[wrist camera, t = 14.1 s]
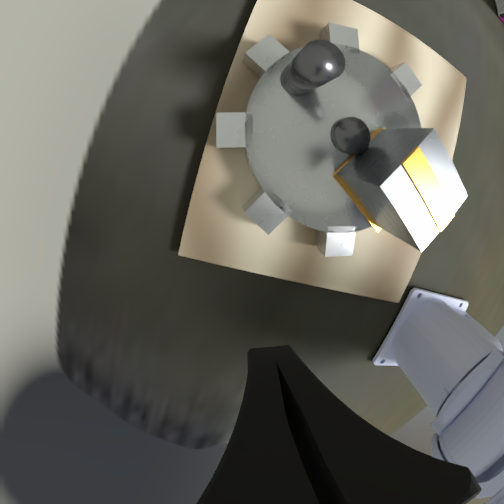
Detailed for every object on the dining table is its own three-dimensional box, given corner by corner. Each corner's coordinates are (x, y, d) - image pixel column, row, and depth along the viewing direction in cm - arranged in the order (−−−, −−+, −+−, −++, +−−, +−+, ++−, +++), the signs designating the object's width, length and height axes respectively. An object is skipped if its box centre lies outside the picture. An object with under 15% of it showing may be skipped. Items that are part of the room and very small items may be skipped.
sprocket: (330, -1, 12) (368, -40, 7) (449, 155, 16) (504, 165, 11) (164, 134, 14) (137, 127, 9) (325, 287, 19) (359, 336, 13)
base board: (461, 78, 15) (466, 78, 14) (394, 299, 21) (398, 303, 20) (269, -26, 11) (270, -31, 11) (179, 251, 17) (177, 255, 17)
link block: (382, 129, 14) (435, 128, 9) (416, 181, 15) (469, 196, 11) (336, 174, 14) (381, 186, 10) (375, 225, 16) (423, 252, 11)
